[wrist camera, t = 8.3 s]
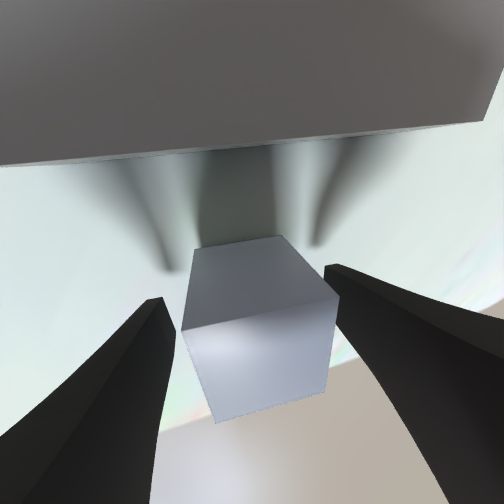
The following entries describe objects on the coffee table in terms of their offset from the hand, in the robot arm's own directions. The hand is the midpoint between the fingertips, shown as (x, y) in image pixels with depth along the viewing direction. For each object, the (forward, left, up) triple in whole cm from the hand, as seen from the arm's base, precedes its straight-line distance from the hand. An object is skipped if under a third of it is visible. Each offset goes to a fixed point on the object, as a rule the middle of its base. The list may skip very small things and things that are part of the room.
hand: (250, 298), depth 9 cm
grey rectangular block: (0, 0, -2) cm, 2 cm away
